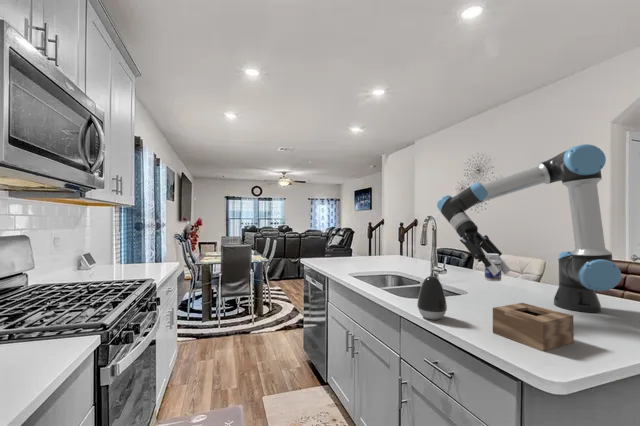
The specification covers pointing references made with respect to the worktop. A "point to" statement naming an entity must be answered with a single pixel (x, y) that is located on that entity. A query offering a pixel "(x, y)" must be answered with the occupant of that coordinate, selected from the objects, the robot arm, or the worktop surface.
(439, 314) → the dark grey egg speaker
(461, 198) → the robot arm
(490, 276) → the pill bottle
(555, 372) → the worktop surface
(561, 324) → the drop box
